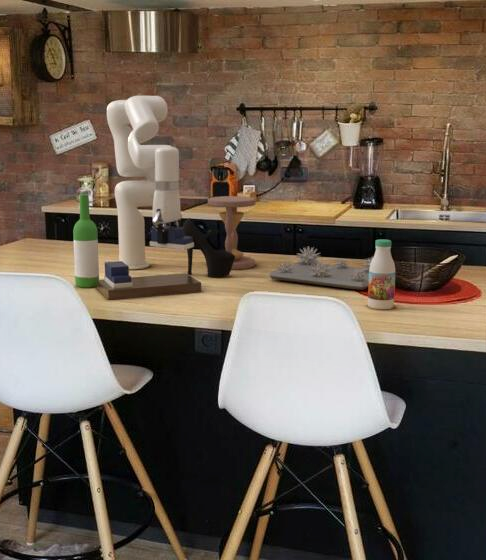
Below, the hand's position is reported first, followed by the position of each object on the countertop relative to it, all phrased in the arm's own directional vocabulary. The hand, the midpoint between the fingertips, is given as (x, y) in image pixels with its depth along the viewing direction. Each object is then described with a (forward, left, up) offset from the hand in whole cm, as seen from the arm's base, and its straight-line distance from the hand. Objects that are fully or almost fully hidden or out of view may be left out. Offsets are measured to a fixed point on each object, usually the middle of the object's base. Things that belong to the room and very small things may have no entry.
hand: (167, 241), depth 254 cm
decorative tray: (+8, +55, -15) cm, 58 cm away
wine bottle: (-12, -24, -15) cm, 31 cm away
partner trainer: (+2, -17, -12) cm, 21 cm away
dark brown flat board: (+2, -7, -15) cm, 17 cm away
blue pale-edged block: (+1, +1, -1) cm, 2 cm away
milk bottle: (+48, +51, -15) cm, 71 cm away
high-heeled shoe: (-13, +19, -15) cm, 28 cm away
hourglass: (-27, +33, -15) cm, 46 cm away
